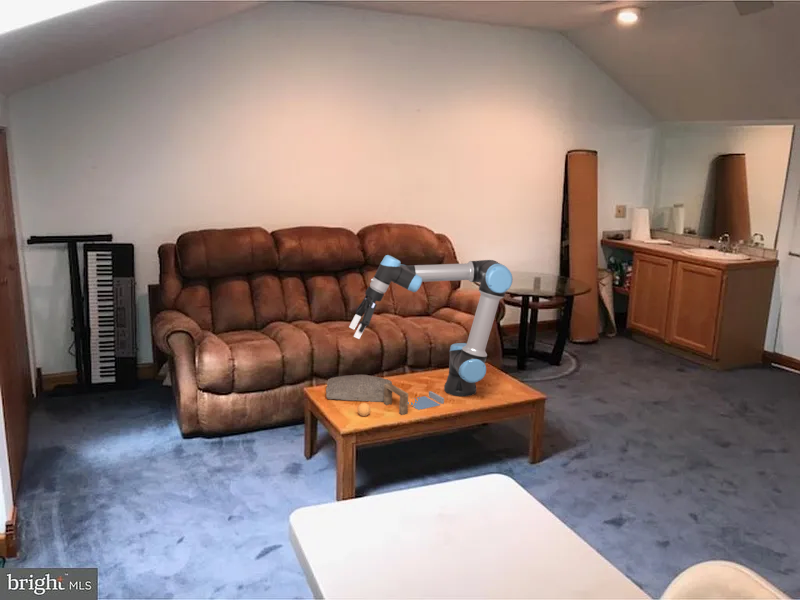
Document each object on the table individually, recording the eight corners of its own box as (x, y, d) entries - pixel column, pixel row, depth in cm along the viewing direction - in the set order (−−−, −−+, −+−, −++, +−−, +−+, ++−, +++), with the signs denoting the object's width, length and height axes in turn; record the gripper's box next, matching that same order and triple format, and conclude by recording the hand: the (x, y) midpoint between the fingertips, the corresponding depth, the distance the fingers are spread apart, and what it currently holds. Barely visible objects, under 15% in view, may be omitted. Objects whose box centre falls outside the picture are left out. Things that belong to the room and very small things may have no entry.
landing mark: (424, 396, 313) (424, 396, 313) (440, 405, 303) (440, 404, 303) (403, 401, 306) (403, 400, 306) (418, 410, 297) (418, 409, 296)
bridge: (389, 402, 304) (390, 383, 302) (407, 413, 292) (408, 393, 290) (383, 403, 302) (384, 384, 300) (401, 415, 290) (402, 394, 288)
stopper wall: (430, 396, 313) (431, 391, 313) (443, 403, 305) (444, 398, 305) (428, 396, 313) (428, 391, 312) (441, 403, 305) (441, 398, 304)
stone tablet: (324, 402, 303) (391, 403, 303) (324, 384, 301) (392, 386, 302) (328, 386, 323) (391, 388, 323) (328, 370, 321) (392, 371, 321)
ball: (366, 412, 292) (366, 400, 291) (372, 416, 288) (373, 404, 286) (354, 414, 289) (355, 402, 288) (361, 419, 285) (361, 406, 284)
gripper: (364, 279, 300) (342, 321, 303) (374, 293, 276) (350, 338, 279) (379, 286, 302) (357, 328, 305) (390, 300, 279) (366, 345, 281)
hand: (353, 333), depth 292 cm, fingers open, 13 cm apart
